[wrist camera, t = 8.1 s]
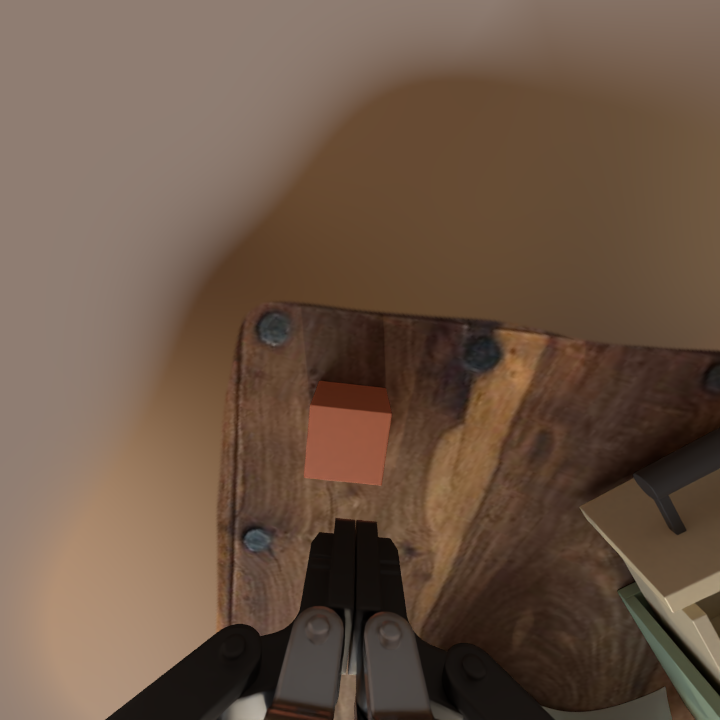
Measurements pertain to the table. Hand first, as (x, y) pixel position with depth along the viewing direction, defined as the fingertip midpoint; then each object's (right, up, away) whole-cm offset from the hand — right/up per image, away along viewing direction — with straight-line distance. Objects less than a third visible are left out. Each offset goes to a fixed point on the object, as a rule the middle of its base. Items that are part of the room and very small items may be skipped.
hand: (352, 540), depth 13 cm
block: (0, +3, +12) cm, 12 cm away
